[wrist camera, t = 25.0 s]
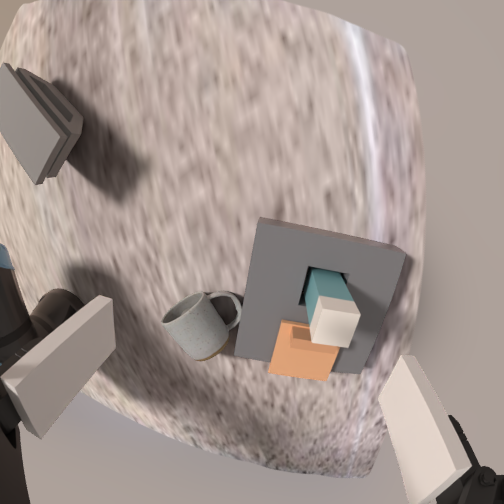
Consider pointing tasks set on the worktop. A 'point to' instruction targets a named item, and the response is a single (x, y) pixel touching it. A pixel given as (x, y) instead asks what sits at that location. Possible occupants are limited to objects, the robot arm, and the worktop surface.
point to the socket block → (292, 279)
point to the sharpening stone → (36, 122)
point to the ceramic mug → (200, 325)
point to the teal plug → (329, 308)
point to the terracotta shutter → (301, 353)
